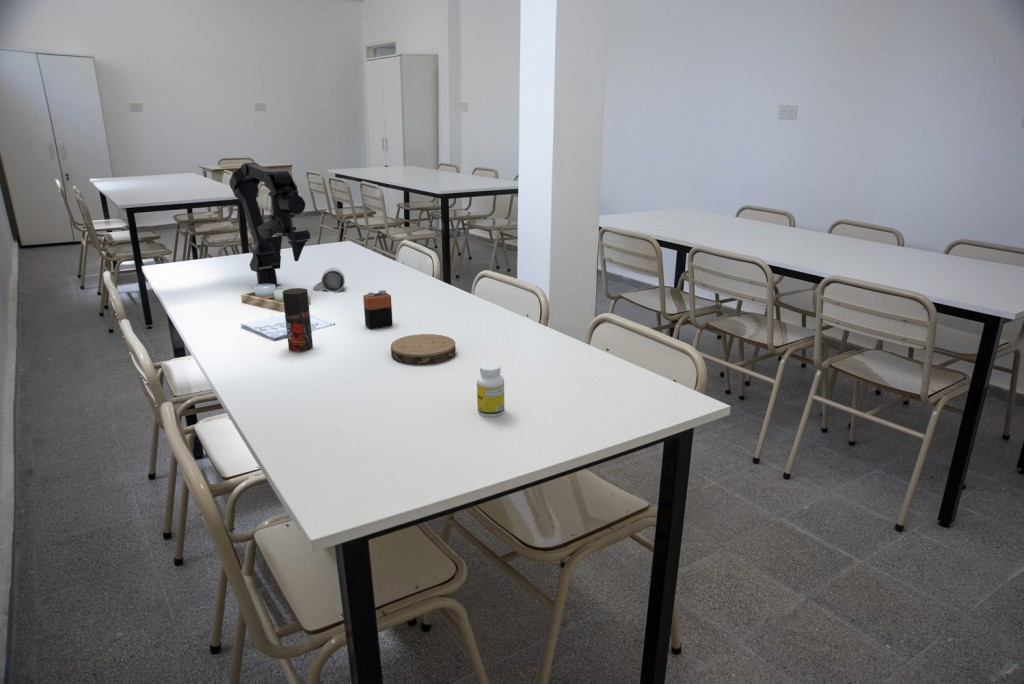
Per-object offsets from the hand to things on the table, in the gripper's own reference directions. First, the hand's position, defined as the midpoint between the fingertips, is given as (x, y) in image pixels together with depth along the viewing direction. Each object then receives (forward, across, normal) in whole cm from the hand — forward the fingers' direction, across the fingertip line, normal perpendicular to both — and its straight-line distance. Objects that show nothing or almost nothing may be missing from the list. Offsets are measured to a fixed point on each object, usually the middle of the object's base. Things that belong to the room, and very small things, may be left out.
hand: (287, 259), depth 217 cm
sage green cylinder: (+12, +11, -10) cm, 19 cm away
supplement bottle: (+12, +109, -39) cm, 116 cm away
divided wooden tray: (+12, +6, -10) cm, 17 cm away
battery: (+12, +49, -9) cm, 51 cm away
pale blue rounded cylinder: (+12, +1, -10) cm, 16 cm away
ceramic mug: (+12, +5, +12) cm, 18 cm away
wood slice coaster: (+13, +75, -20) cm, 79 cm away
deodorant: (+12, +46, -34) cm, 58 cm away
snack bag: (+13, +28, -23) cm, 38 cm away
